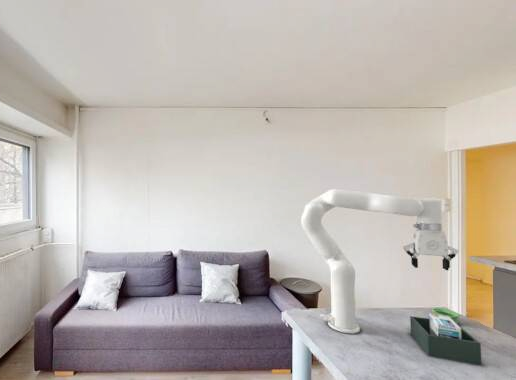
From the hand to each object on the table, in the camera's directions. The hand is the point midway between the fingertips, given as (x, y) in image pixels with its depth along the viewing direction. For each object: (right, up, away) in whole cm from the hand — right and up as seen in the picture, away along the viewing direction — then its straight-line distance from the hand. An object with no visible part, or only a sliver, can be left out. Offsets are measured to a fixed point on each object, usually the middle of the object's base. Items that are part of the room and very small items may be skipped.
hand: (430, 268), depth 110 cm
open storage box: (0, -30, -5) cm, 31 cm away
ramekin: (+22, -30, +15) cm, 40 cm away
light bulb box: (0, -30, -7) cm, 30 cm away
